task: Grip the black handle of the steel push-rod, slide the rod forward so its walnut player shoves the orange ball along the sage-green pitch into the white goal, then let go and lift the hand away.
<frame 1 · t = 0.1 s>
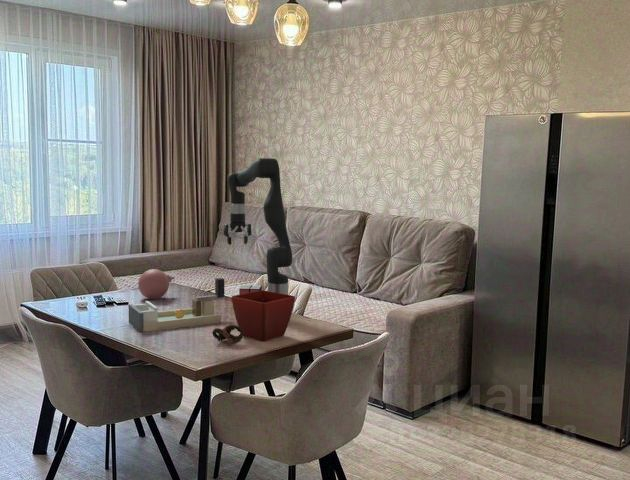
hand: (237, 244, 323), 29 cm above the table, tool pointing down, fingers open, 8 cm apart
pitch: (177, 322, 280), on the table
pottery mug: (227, 343, 249), on the table
plant pot: (263, 336, 260), on the table
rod: (208, 297, 286), point 10 cm above the table, slide at 0.0 cm
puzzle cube: (250, 307, 313), on the table
ball: (179, 313, 280), point 4 cm above the table, touching pitch
balloon: (158, 298, 328), on the table
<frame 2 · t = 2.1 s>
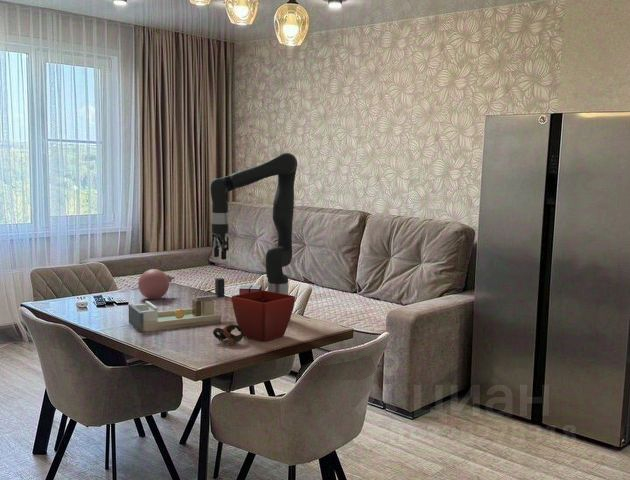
hand: (220, 258, 286), 27 cm above the table, tool pointing down, fingers open, 8 cm apart
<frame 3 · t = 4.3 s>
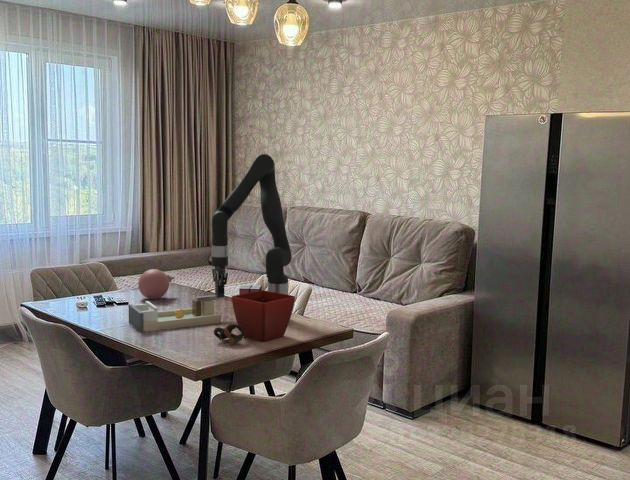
hand: (219, 292, 288), 12 cm above the table, tool pointing down, fingers closed on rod, 3 cm apart
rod: (208, 297, 286), point 10 cm above the table, slide at 0.0 cm, touching gripper
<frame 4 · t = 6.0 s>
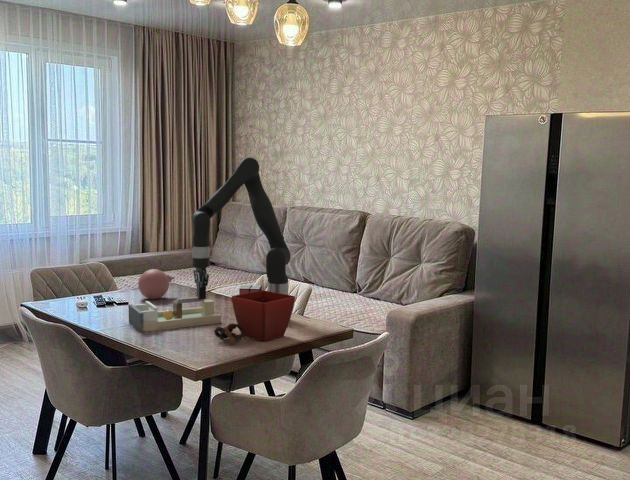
hand: (201, 294, 284), 12 cm above the table, tool pointing down, fingers closed on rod, 3 cm apart
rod: (189, 298, 281), point 10 cm above the table, slide at 8.9 cm, touching gripper
ball: (168, 314, 277), point 4 cm above the table, tilted 124°, touching pitch
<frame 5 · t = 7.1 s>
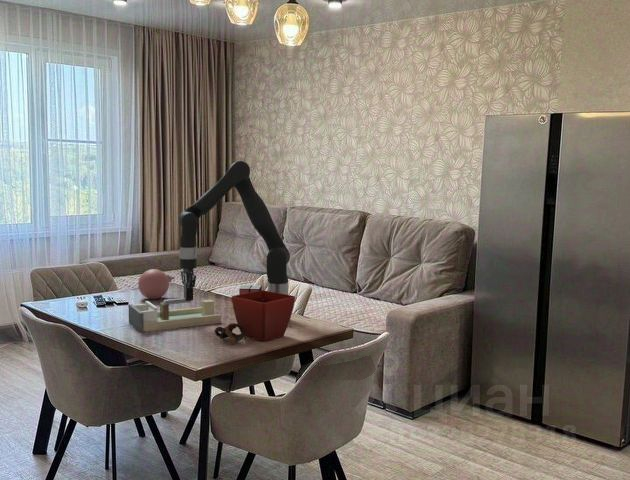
hand: (188, 295, 281), 12 cm above the table, tool pointing down, fingers closed on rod, 3 cm apart
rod: (176, 300, 278), point 10 cm above the table, slide at 14.9 cm, touching gripper
ball: (143, 320, 272), point 3 cm above the table, tilted 58°, touching pitch
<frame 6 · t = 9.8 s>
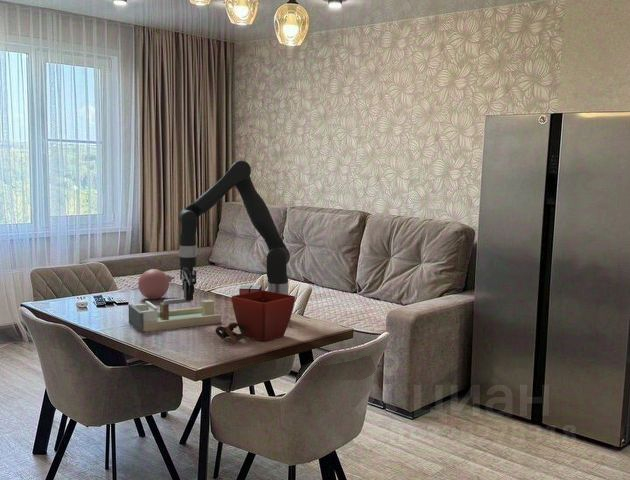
hand: (188, 291, 280), 13 cm above the table, tool pointing down, fingers open, 8 cm apart
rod: (176, 300, 278), point 10 cm above the table, slide at 14.9 cm
ball: (146, 319, 272), point 3 cm above the table, tilted 20°, touching pitch
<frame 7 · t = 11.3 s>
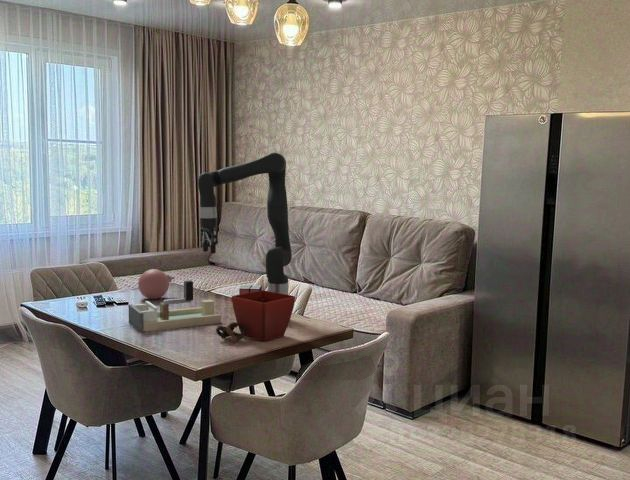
hand: (209, 252, 287), 30 cm above the table, tool pointing down, fingers open, 8 cm apart
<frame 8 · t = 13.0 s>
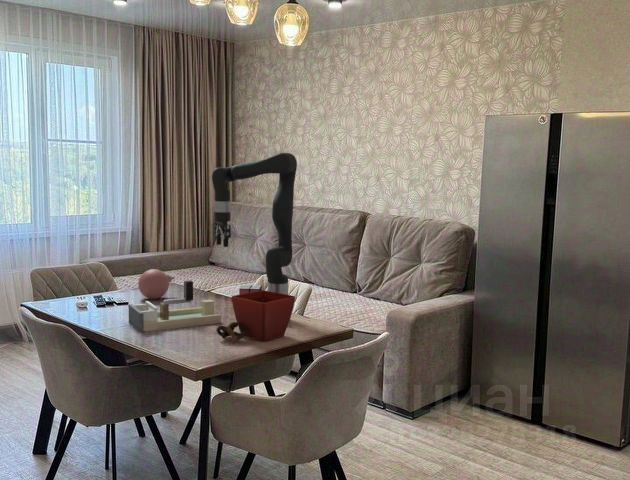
hand: (222, 245, 294), 32 cm above the table, tool pointing down, fingers open, 8 cm apart
at the end: ball inside the target area on the pitch (1.1 cm from its centre), point 2.5 cm above the pitch's base; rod slide at 14.9 cm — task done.
